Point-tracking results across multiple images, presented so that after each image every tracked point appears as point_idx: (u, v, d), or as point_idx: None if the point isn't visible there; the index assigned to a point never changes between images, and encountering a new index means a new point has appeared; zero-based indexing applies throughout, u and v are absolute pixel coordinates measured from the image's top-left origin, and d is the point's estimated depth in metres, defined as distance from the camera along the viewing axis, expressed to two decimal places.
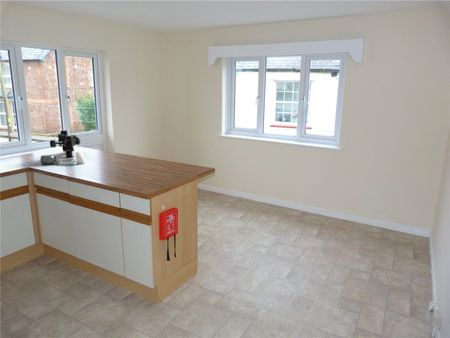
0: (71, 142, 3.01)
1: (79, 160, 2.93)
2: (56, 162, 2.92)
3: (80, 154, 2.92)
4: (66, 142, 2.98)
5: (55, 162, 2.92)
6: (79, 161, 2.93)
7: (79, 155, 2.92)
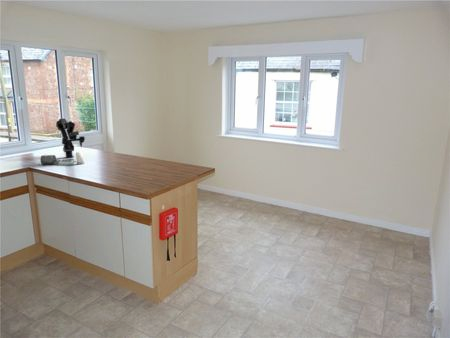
0: (84, 139, 3.06)
1: (79, 160, 2.93)
2: (56, 162, 2.92)
3: (80, 154, 2.92)
4: (81, 141, 3.02)
5: (55, 162, 2.92)
6: (79, 161, 2.93)
7: (79, 155, 2.92)
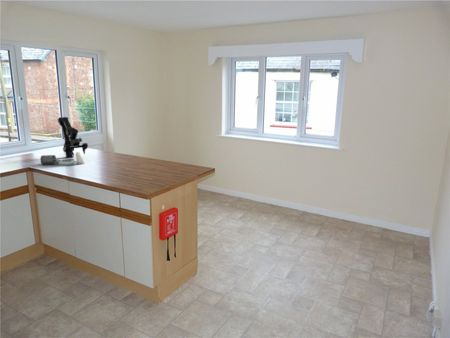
0: (87, 146, 3.02)
1: (79, 160, 2.93)
2: (56, 162, 2.92)
3: (80, 154, 2.92)
4: (84, 148, 2.99)
5: (55, 162, 2.92)
6: (79, 161, 2.93)
7: (79, 155, 2.92)
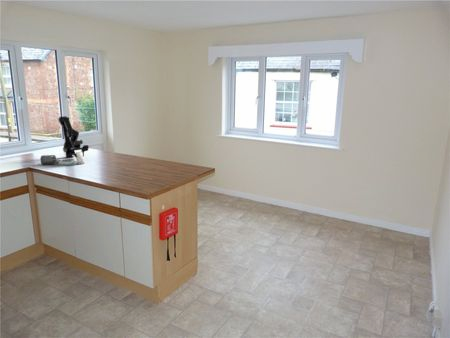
0: None
1: (79, 160, 2.93)
2: (56, 162, 2.92)
3: (80, 154, 2.92)
4: (83, 150, 2.97)
5: (55, 162, 2.92)
6: (79, 161, 2.93)
7: (79, 155, 2.92)
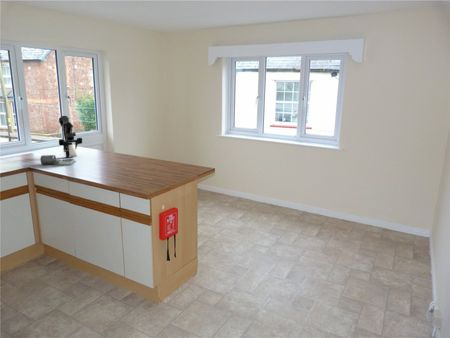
0: (81, 140, 2.98)
1: (71, 153, 2.91)
2: (56, 162, 2.92)
3: (72, 147, 2.90)
4: (76, 143, 2.94)
5: (55, 162, 2.92)
6: (71, 154, 2.91)
7: (71, 147, 2.90)
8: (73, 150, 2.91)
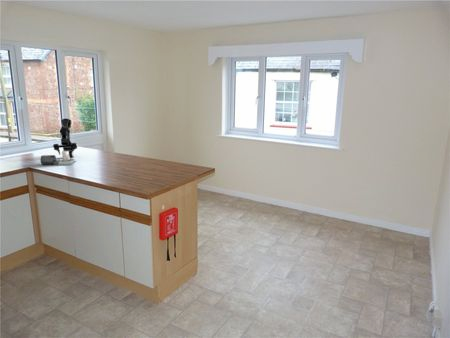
0: (76, 146, 2.99)
1: (64, 159, 2.93)
2: (56, 162, 2.92)
3: (65, 153, 2.92)
4: (71, 148, 2.96)
5: (55, 162, 2.92)
6: (64, 160, 2.93)
7: (64, 154, 2.92)
8: (66, 156, 2.93)
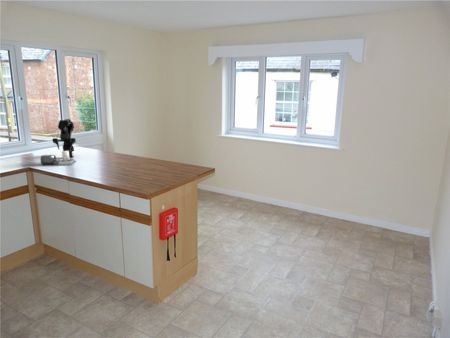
0: (75, 141, 3.06)
1: (64, 159, 2.93)
2: (56, 162, 2.92)
3: (65, 153, 2.92)
4: (70, 143, 3.04)
5: (55, 162, 2.92)
6: (64, 160, 2.93)
7: (64, 154, 2.92)
8: (66, 156, 2.93)
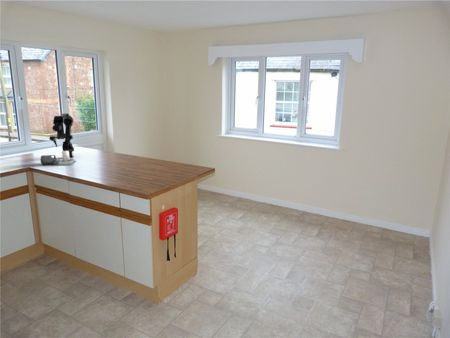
0: (72, 138, 3.04)
1: (64, 159, 2.93)
2: (56, 162, 2.92)
3: (65, 153, 2.92)
4: (68, 141, 3.03)
5: (55, 162, 2.92)
6: (64, 160, 2.93)
7: (64, 154, 2.92)
8: (66, 156, 2.93)
